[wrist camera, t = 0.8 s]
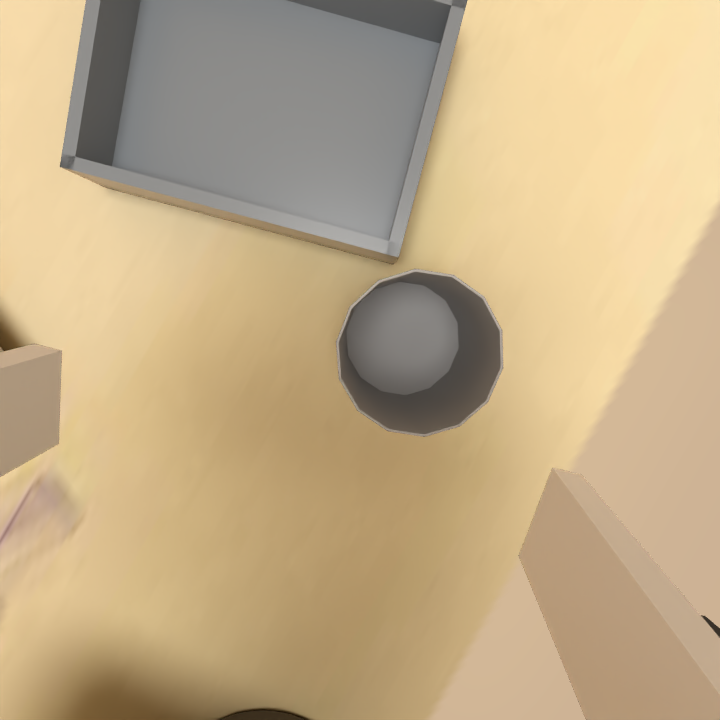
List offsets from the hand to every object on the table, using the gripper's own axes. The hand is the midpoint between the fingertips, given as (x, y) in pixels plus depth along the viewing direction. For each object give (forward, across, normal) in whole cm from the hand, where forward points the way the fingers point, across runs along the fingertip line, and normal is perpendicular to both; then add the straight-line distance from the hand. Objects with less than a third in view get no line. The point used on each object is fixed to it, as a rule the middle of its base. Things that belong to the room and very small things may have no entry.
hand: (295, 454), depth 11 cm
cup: (+21, -3, 0) cm, 21 cm away
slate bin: (+22, +9, -13) cm, 27 cm away
